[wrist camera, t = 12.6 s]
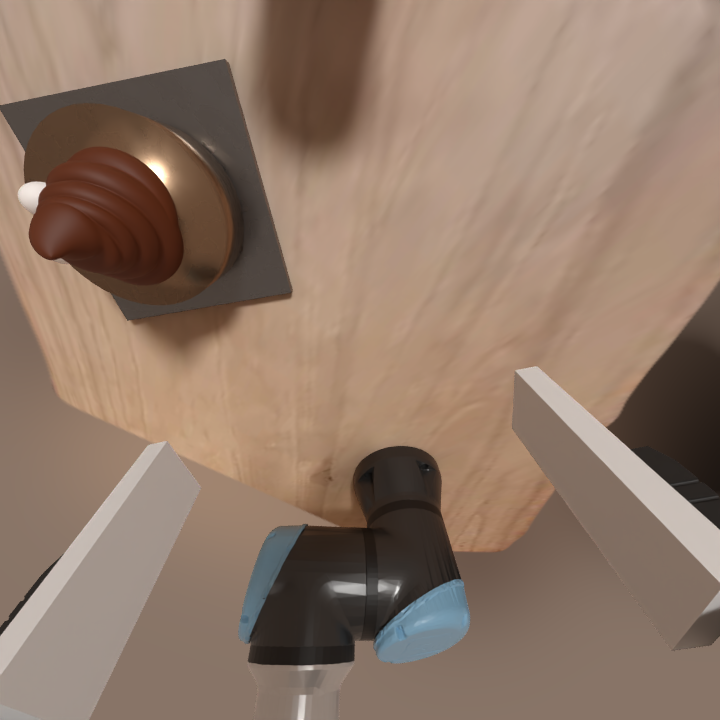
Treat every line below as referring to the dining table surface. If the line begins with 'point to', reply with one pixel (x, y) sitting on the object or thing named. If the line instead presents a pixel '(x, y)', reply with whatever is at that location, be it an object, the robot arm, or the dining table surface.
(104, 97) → the post stand
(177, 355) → the dining table surface
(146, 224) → the poop emoji
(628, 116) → the dining table surface
